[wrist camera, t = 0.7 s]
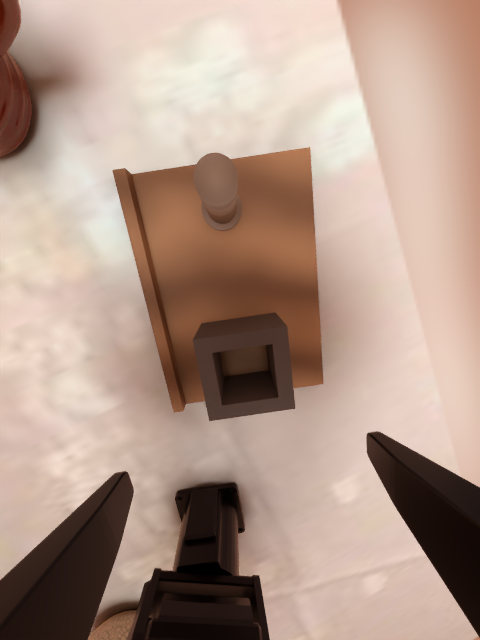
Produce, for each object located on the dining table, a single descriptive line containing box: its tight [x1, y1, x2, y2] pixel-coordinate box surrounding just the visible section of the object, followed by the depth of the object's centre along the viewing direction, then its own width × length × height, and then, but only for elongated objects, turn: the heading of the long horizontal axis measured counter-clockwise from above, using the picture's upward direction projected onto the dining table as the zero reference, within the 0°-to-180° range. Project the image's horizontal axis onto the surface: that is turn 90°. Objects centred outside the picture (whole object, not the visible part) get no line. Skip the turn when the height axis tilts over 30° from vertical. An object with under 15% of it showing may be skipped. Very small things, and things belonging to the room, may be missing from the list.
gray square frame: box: [193, 312, 295, 421], centre depth 17 cm, size 6×6×4 cm
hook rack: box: [113, 147, 323, 412], centre depth 15 cm, size 18×13×7 cm
